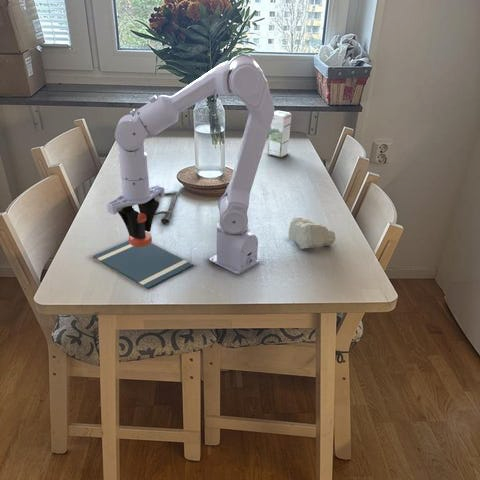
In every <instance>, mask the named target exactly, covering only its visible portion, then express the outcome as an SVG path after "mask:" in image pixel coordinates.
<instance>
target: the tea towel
mask: <svg viewBox="0 0 480 480" xmlns="http://www.w3.org/2000/svg"><path fill="white" fill-rule="evenodd" d="M92 258H94V259H95V260H97V261H99V262H100V263H102V264H104V265H106V266H108V267H110V268H111V269H113V270H114V271H116V272H118V273H120V274H121V275H123V276H125V277H127V279H130V280H131V281H133V282H135V283H136V284H138V285H140V286H142V287H144V288H145V289H147V290H148V289H151V288H153V287H155V286H156V285H158V284H161V283H163V282H164V281H166V280H169V279H170V278H172V277H174V276H176V275H178V274H180V273H182V272H184V271H186V270H187V269H190V268H191V267H193V266H194V264H193V263H192V262H189V261H187V260H185V259H183V258H181V257H180V256H177V255H175V254H173V253H171V252H170V251H167V250H166V249H164V248H162V247H160V246H158V245H156V244H154V243H151V244H150V245H148V246H144V247H135V246H132V245H131V244H130V243H129V240H126V241H125V242H122V243H120V244H117V245H115V246H112V247H111V248H108V249H106V250H103V251H101V252H99V253H96V254H94V255H92Z"/></svg>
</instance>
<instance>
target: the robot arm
mask: <svg viewBox="0 0 480 480" xmlns="http://www.w3.org/2000/svg"><path fill="white" fill-rule="evenodd" d="M229 90H230V91H231V93H232V94H233V95H234V96H235V97H236V98H237V99H238V100H240V101H241V102H242V103H243V104H244V106H245V108H246V109H247V111H248V117H247V121H246V124H245V128H244V132H243V135H242V138H241V142H240V146H239V149H238V152H237V156H236V160H235V164H234V167H233V170H232V174H231V178H230V181H229V183H228V184H227V186H226V190H225V192H224V193H223V195H221V197H220V198H219V200H218V204H217V206H218V207H217V208H218V211H219V221H218V222H216V254H214V255H212V256H211V257H209V258H208V261H209V262H211V263H213V264H215V265H217V266H219V267H221V268H223V269H226V270H227V271H229V272H231V273H232V274H233V273H234V274H235V275H239V274H241V273H243V272H245V271H247V270H249V269H251V268H252V267H254V266H255V265H257V264H259V262H260V260H258V250H259V249H258V248H259V238H258V237H257V236H256V234H254V233H253V232H252V231H251V230H250V229H249V216H248V211H249V206H250V198H251V197H250V196H251V191H252V187H253V185H254V181H255V178H256V175H257V171H258V169H259V165H260V162H261V159H262V156H263V152H264V149H265V145H266V143H267V139H268V137H269V130H270V126H271V123H272V120H273V117H274V112H275V111H276V109H275V105H274V102H273V97H272V95H271V90H270V86H269V82H268V80H267V78H266V77H265V74H264V72H263V70H262V68H261V67H260V66H259V64H258V62H257V61H256V60H255V59H254V57H252V56H251V55H249V54H244V53H243V54H241V53H240V54H238V55H235V56H234V57H233V58H231V60H226V61H223V62H222V63H219V64H218V65H217V66H215V67H213V68H211V69H210V70H209V71H208V72H205V73H204V74H202V75H201V76H200V77H199V78H197V79H195V80H194V81H192V82H191V83H190V84H188V85H187V86H185V87H184V88H182V89H181V90H179V91H178V92H176V93H175V94H174V95H172V96H169V95H165V94H161V95H158V96H157V95H156V94H154V95H152V96H150V98H149V102H147V103H146V104H144V105H142V106H141V107H140V108H138V109H135V108H133V109H132V110H130V111H129V114H125V115H123V116H122V117H120V119H119V121H118V123H117V125H116V127H115V131H114V138H115V141H116V143H117V145H118V146H117V147H118V151H119V153H118V160H119V168H120V178H121V186H122V191H121V193H122V194H120V195H119V196H118V197H116V198H115V199H113V200H111V201H110V202H108V203H106V208H107V212H108V213H109V214H111V215H117V214H118V215H119V216H120V218H121V220H122V221H123V223H124V225H125V227H126V230H127V233H128V236H129V235H130V236H132V237H134V238H136V237H137V234H138V232H137V219H138V214H139V213H143V214H145V215H146V217H147V220H146V221H145V232H148V233H150V232H151V231H152V225H153V221H154V216H155V215H154V214H155V212H157V211H158V208H159V206H160V202H159V200H158V201H156V200H155V197H158V196H159V197H164V196H166V195H165V193H166V192H165V187H164V186H161V185H159V184H158V185H154V186H150V181H149V180H150V179H149V178H150V177H149V166H148V165H149V164H148V154H147V152H146V140H147V139H150V138H153V137H155V136H156V135H158V134H159V133H162V132H163V131H164V130H166V129H168V128H169V127H171V126H173V125H174V124H176V123H177V122H179V121H178V120H179V115H180V113H181V112H183V111H186V110H187V109H189V108H191V107H192V106H194V105H196V104H198V103H199V102H202V101H203V100H205V99H207V98H209V97H211V96H213V95H219V96H224V97H230V92H229ZM133 206H137V207H138V210H139V211H137V210H135V208H134V207H133Z"/></svg>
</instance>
